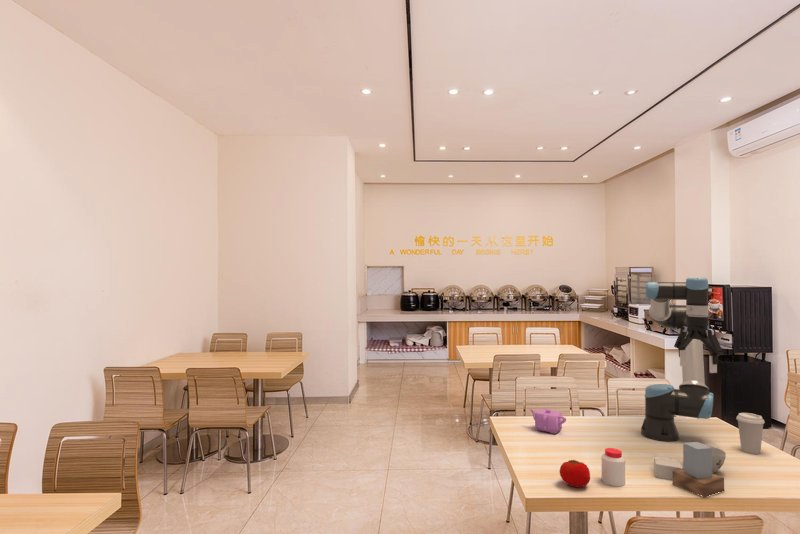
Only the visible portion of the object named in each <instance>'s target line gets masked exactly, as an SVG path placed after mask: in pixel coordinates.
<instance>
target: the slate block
mask: <svg viewBox="0 0 800 534" xmlns="http://www.w3.org/2000/svg"><path fill="white" fill-rule="evenodd" d="M682 443H683V444H682V445H683V446H682V447H683V448H682V457H683V458H682V461H683V462H682V463H683V465H682V466H683V467H682V468H683V471H684V472H685V473H687V474H689V475H691V476H693V477H695V478H697V479H700V478H711V477H712V448H711V447H709V446H710V445H708V446H706V445H707V444H704V443H701V442H699V441H693V442H692V441H691V442H682Z"/></svg>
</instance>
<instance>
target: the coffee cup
mask: <svg viewBox="0 0 800 534" xmlns="http://www.w3.org/2000/svg"><path fill="white" fill-rule="evenodd" d="M736 420H737V424H738V433H739V441H740V450H741V451H742V452H744V453H747V454H752V455H759V454H760V455H761V450H762V442H763V441H762V439H763V429H764V424H765V423H766V422H765V419H763V416H762V415H759V414H755V413H750V412H738V415H737V416H736Z"/></svg>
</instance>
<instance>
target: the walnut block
mask: <svg viewBox="0 0 800 534" xmlns="http://www.w3.org/2000/svg"><path fill="white" fill-rule="evenodd" d="M672 474H673V480H672V485H673V486H676V487H679V488H681V489H683V490H685V491H688V492H689V493H692V492H693V494H694V493H695V495H697V494H699V495H702V496H703V497H702V498H703V499H705V498H708V497H707V496H709V495H712V494H715V493H718V492H721V493H723V492H722V491H724V492H725V477H723V476H721V475H717V474H715V473H712V477H711V478H700V479H697V478H695V477H693V476H691V475H689V474H687V473H685V472H684V471H683V467H681V469H678V470H675V471H672ZM718 494H719V493H718ZM699 495H698V496H699ZM715 495H716V494H715ZM712 496H713V495H712ZM709 497H710V496H709Z"/></svg>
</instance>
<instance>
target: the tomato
mask: <svg viewBox="0 0 800 534" xmlns="http://www.w3.org/2000/svg"><path fill="white" fill-rule="evenodd" d="M559 475H560V477H561V480H562V481H563V482H564V483H565V484H566V485H569V486H571V487H573V488H582V487H586V486H587V485H588V484H589V482H590V481H591V472H590V468H589V467H588V465H587V464H585V463H584V462H582V461H581V462H580V461H578V460H576V459H570V460H568V461H564V462H563V463H562V464H561V465H560V468H559Z"/></svg>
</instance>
